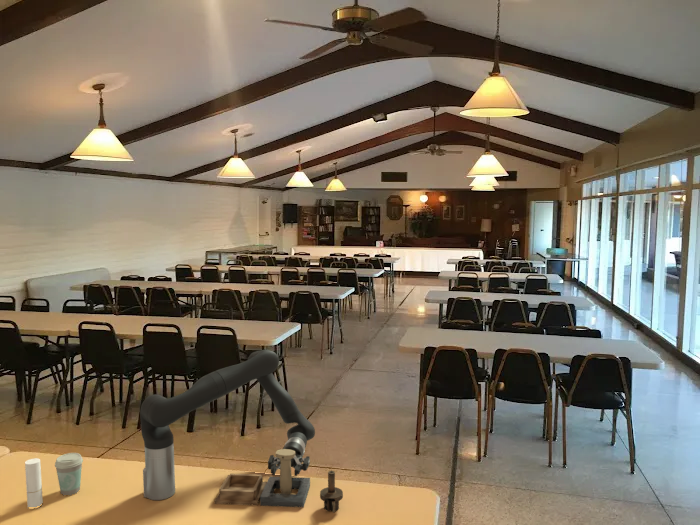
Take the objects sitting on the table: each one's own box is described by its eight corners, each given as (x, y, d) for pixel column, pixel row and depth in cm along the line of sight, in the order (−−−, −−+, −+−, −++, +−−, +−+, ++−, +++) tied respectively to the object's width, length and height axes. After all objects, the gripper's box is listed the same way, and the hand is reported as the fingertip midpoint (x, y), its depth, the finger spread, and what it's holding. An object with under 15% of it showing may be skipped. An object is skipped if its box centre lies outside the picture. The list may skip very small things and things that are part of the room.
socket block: (260, 505, 188) (260, 496, 187) (269, 484, 202) (269, 476, 201) (303, 507, 187) (303, 498, 186) (310, 486, 200) (310, 477, 200)
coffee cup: (50, 495, 195) (48, 460, 193) (71, 483, 203) (69, 450, 201) (69, 500, 191) (67, 464, 190) (90, 488, 199) (88, 454, 198)
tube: (45, 504, 189) (43, 459, 187) (34, 510, 185) (32, 465, 183) (35, 501, 190) (33, 457, 189) (24, 508, 186) (21, 463, 185)
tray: (214, 503, 189) (214, 491, 188) (227, 483, 203) (227, 472, 202) (257, 505, 188) (257, 493, 187) (267, 484, 202) (266, 473, 201)
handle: (292, 500, 191) (292, 456, 189) (274, 498, 193) (273, 454, 191) (297, 493, 196) (297, 450, 194) (279, 491, 197) (279, 448, 196)
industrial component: (340, 515, 182) (340, 478, 180) (317, 513, 183) (317, 476, 182) (345, 500, 191) (345, 465, 190) (324, 498, 192) (323, 463, 191)
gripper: (273, 440, 208) (262, 461, 191) (313, 441, 206) (306, 462, 190) (273, 460, 208) (262, 482, 192) (313, 462, 207) (306, 484, 191)
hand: (284, 472), depth 191 cm, fingers open, 7 cm apart
